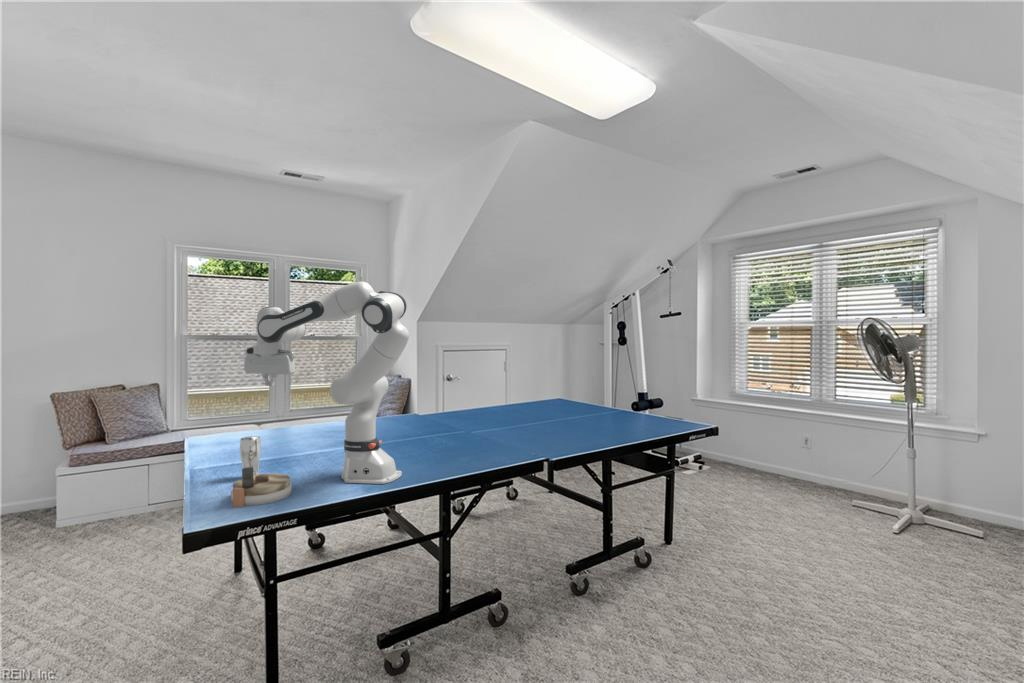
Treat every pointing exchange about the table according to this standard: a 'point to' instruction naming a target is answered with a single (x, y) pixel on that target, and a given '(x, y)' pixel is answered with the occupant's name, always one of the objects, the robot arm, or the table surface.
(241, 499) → the stand
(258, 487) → the tan disc with handle
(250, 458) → the beer glass
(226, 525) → the table surface
